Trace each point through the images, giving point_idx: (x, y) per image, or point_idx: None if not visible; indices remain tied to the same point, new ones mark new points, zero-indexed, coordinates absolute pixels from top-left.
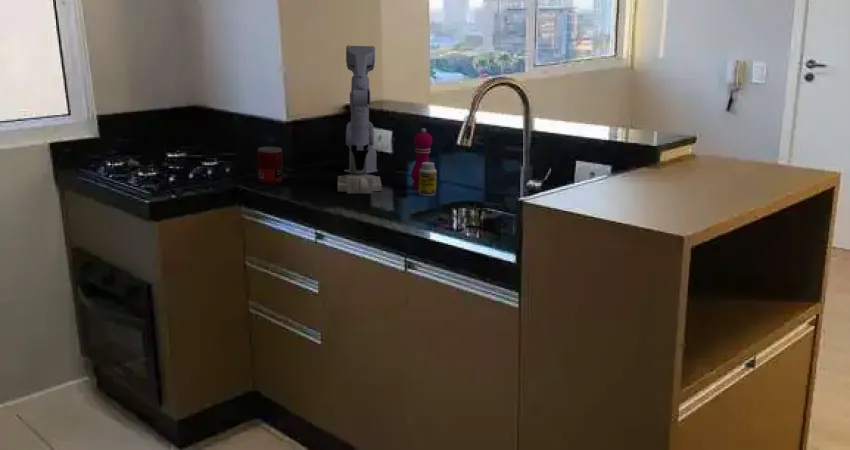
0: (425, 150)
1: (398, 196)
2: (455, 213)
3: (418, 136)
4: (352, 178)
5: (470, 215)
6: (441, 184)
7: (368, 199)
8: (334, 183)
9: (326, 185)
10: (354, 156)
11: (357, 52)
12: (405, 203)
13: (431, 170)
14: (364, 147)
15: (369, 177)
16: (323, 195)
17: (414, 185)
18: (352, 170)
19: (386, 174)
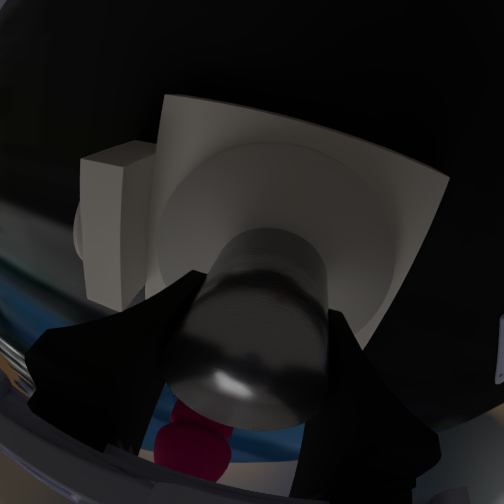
0: None
1: None
2: (3, 342)
3: None
4: (81, 191)
5: (3, 353)
6: (250, 454)
7: (47, 211)
8: (405, 132)
9: (362, 65)
10: (97, 324)
11: None
12: (31, 300)
13: None
14: (299, 492)
15: (97, 290)
16: (114, 20)
17: (185, 407)
18: (237, 247)
19: (449, 396)
